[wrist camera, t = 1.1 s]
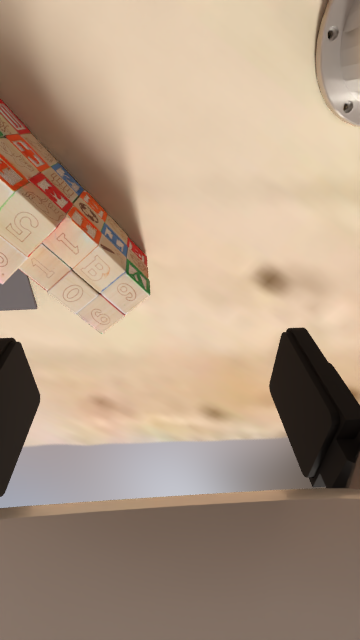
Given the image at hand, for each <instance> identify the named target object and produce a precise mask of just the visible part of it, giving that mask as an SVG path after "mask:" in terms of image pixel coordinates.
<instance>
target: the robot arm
mask: <svg viewBox="0 0 360 640" xmlns="http://www.w3.org/2000/svg"><path fill="white" fill-rule="evenodd" d="M328 31H329V32H330V38H329V39H328ZM316 71H317V79H318V83H319V88H320V92H321V94H322V96H323V98H324V100H325V103H326V105H327V106H328V107H329V108H330V110H331V111H332V112H333V113H334V115H336V116H337V117H338V118H340V119H341V120H342V121H344V122H346V123H349V124H351V125H354V126H360V0H329V1H328V4H327V7H326V10H325V12H324V15H323V18H322V21H321V26H320V30H319V35H318V39H317V50H316ZM344 104H345V109H344V110H343V107H344ZM269 387H270V393H271V396H272V398H273V401H274V403H275V406H276V408H277V411H278V413H279V416H280V418H281V421H282V423H283V426H284V428H285V431H286V433H287V436H288V438H289V441H290V443H291V446H292V448H293V451H294V453H295V456H296V458H297V461H298V463H299V466H300V468H301V471H302V473H303V475H304V476H305V477H309V479H310V482H311V484H312V486H313V487H325V486H326V488H314V489H313V488H312V489H289V490H267V491H251V492H234V493H217V494H200V495H184V496H168V497H153V498H138V499H122V500H108V501H94V502H93V501H92V502H78V503H64V504H50V505H36V506H22V507H10V508H0V640H360V405H359V403H358V402H357V401H356V399H355V398H354V396H353V395H352V393H351V392H350V390H349V389H348V387H347V386H346V384H345V383H344V381H343V380H342V378H341V377H340V375H339V374H338V372H337V371H336V370H335V368H334V367H333V366H332V364H330V363H328V361H327V360H326V358H325V357H324V355H323V354H322V352H321V351H320V349H319V348H318V346H317V345H316V343H315V342H314V340H313V339H312V337H311V336H310V334H309V333H308V331H307V330H306V329H305V328H288V329H287V331H286V332H283V333H282V335H281V339H280V343H279V347H278V351H277V355H276V359H275V363H274V367H273V372H272V376H271V380H270V385H269ZM39 403H40V393H39V391H38V388H37V385H36V383H35V380H34V377H33V374H32V372H31V369H30V366H29V364H28V361H27V358H26V356H25V353H24V350H23V348H22V345H21V343H20V342H16V340H15V339H14V338H0V497H1V496H3V494H4V493H5V491H6V489H7V486H8V483H9V481H10V478H11V475H12V473H13V471H14V468H15V465H16V463H17V460H18V457H19V455H20V452H21V450H22V447H23V445H24V442H25V440H26V437H27V434H28V432H29V429H30V427H31V424H32V421H33V419H34V416H35V414H36V411H37V409H38V406H39Z"/></svg>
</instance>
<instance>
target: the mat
mask: <svg viewBox="0 0 360 640" xmlns="http://www.w3.org/2000/svg"><path fill="white" fill-rule="evenodd" d="M26 309H37V305H36V301H35V298H34V295H33V292H32V288H31V285H30V282H29V278H28V276H27V275H26V274H24V273H23V272H22V271H21V270H19V269H17V270H16V271H15V272H14V273H13V274H12V275H11V276H10V277H9V278H8V279H7V280H6V281H5V283H4V284H0V311H3V310H26Z"/></svg>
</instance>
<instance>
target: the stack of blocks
mask: <svg viewBox="0 0 360 640" xmlns="http://www.w3.org/2000/svg"><path fill="white" fill-rule="evenodd" d="M17 269H19V270H21V271H22V272H23V273H24V274H26V275H27V276H28V277H30V278H31V279H32V280H33V281H35V282H36V283H37V284H38V285H40V286H41V287H42V288H44V289H45V290H46V291H47V292H48V293H49V294H50V295H51V296H52V297H54V298H55V299H56V300H57V301H59V302H60V303H61V304H63V305H64V306H65V307H66V308H68V309H69V310H70V311H72V312H73V313H74V314H77V315H78V316H79V317H81V318H82V319H83V320H84V321H86V322H87V323H88V324H89V325H91V326H92V327H93V328H95V329H96V330H97V331H98V332H100V333H101V334H103V333H104V332H105V331H107V330H108V329H109V328H111V327H112V326H113V325H114V324H116V323H117V322H118V321H120V320H121V319H122V318H123V317H125V315H126V314H128V313H129V312H130V311H132V310H133V309H134V308H135V307H137V306H138V305H139V304H140V303H142V302H143V301H144V300H145V299H147V298H148V297H149V296H150V281H149V279H148V267H147V256H146V255H145V254H144V253H143V252H142V251H141V250H140V249H139V248H138V247H137V246H136V245H135V244H134V243H133V242H132V241H131V240H130V238H128V237H127V234H126V233H125V232H124V231H123V230H122V229H121V228H120V227H119V226H118V225H117V223H116V222H115V221H114V220H113V219H112V218H111V217H110V216H109V215H108V214H107V213H106V212H105V211H104V209H103V208H102V207H101V206H100V205H99V204H98V203H97V202H96V201H95V200H94V199H93V198H92V197H91V196H90V194H89V193H88V192H87V191H86V190H84V189H83V188H82V187H81V186H80V185H79V184H78V183H77V182H76V181H75V180H74V178H73V177H72V176H71V175H70V174H69V173H68V172H67V171H66V170H65V169H64V168H63V167H62V166H61V165H60V164H59V163H58V162H57V161H56V159H55V158H54V157H53V156H52V155H51V154H50V153H49V152H48V151H47V150H46V149H45V148H44V147H43V146H42V145H41V143H40V142H39V141H38V140H37V139H36V138H35V137H34V136H33V135H32V134H31V132H30V131H29V129H28V128H27V127H26V126H25V125H24V124H23V123H22V122H21V121H20V120H19V119H18V117H17V116H16V115H15V114H14V113H13V112H12V111H11V110H10V109H9V108H8V107H7V106H6V104H5V103H4V102H3V101H2V100H1V99H0V284H4V283H5V281H6V280H7V279H8V278H9V277H10V276H11V275H12V274H13V273H14V272H15V271H16V270H17Z"/></svg>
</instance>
